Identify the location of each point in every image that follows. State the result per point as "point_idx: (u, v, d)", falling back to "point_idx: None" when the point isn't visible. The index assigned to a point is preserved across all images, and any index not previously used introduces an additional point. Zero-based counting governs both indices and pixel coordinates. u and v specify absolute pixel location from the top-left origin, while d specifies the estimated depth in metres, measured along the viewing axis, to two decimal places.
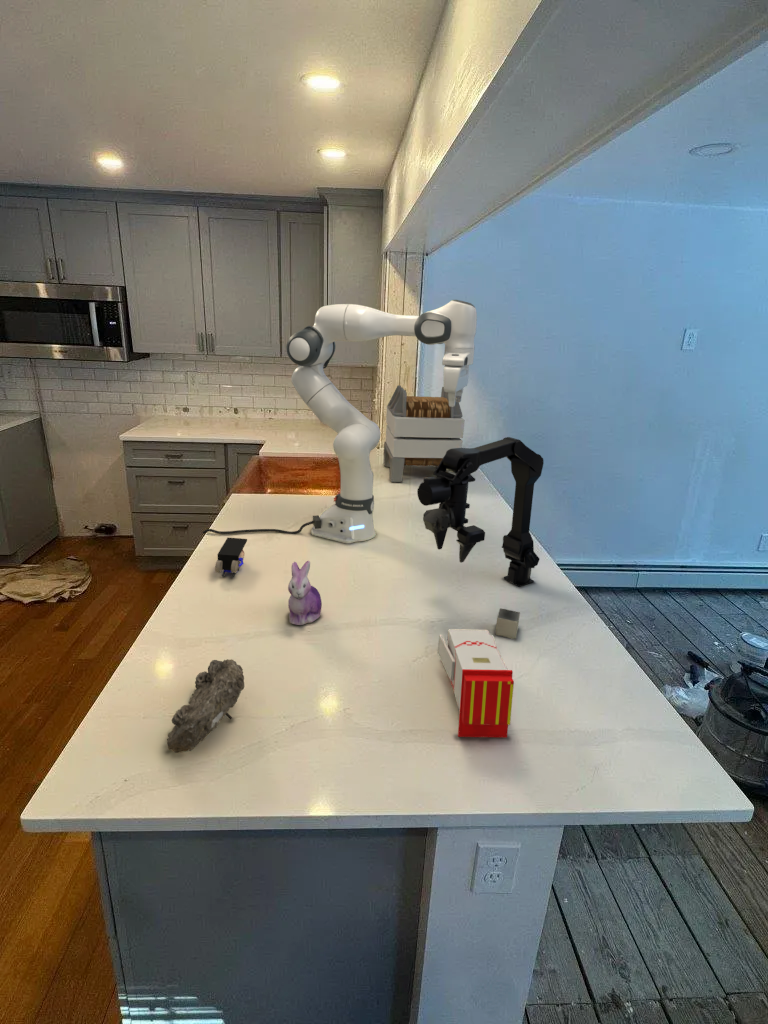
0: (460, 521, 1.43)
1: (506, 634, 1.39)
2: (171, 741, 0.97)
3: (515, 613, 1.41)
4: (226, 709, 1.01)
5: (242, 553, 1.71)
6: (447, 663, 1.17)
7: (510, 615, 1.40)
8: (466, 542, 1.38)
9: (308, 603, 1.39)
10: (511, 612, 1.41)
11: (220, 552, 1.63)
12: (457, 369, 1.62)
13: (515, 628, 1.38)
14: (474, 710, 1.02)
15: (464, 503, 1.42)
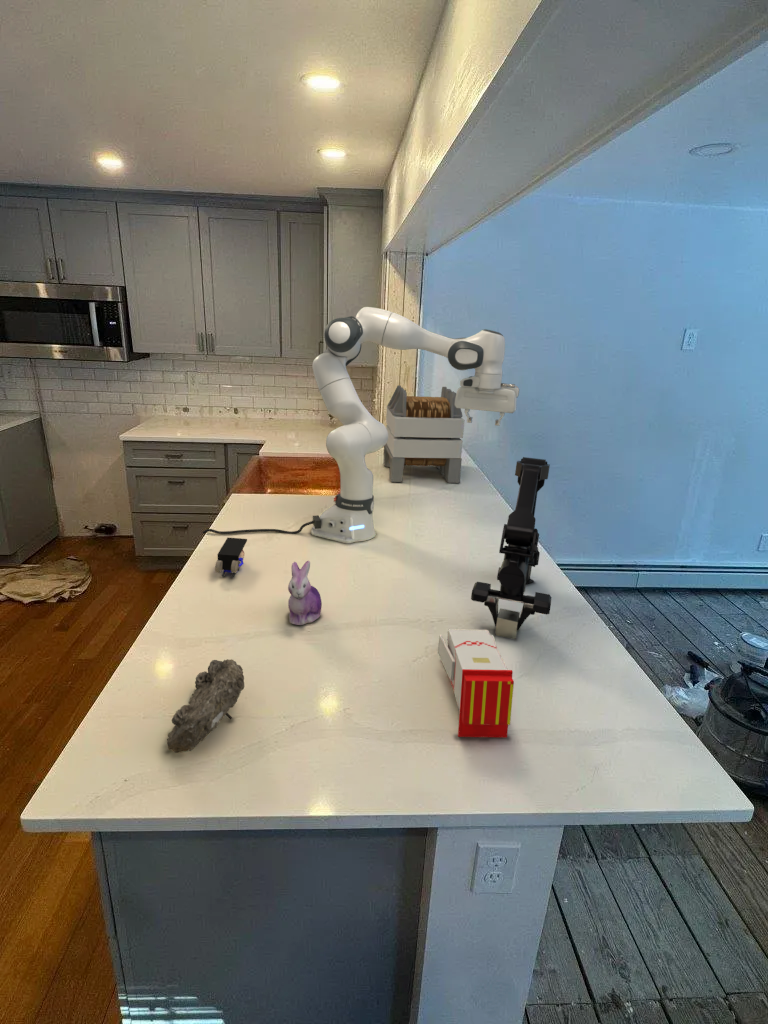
0: (500, 587, 1.38)
1: (506, 634, 1.39)
2: (171, 741, 0.97)
3: (515, 613, 1.41)
4: (226, 709, 1.01)
5: (242, 553, 1.71)
6: (447, 663, 1.17)
7: (510, 615, 1.40)
8: None
9: (308, 603, 1.39)
10: (511, 612, 1.41)
11: (220, 552, 1.63)
12: None
13: (515, 628, 1.38)
14: (474, 710, 1.02)
15: None
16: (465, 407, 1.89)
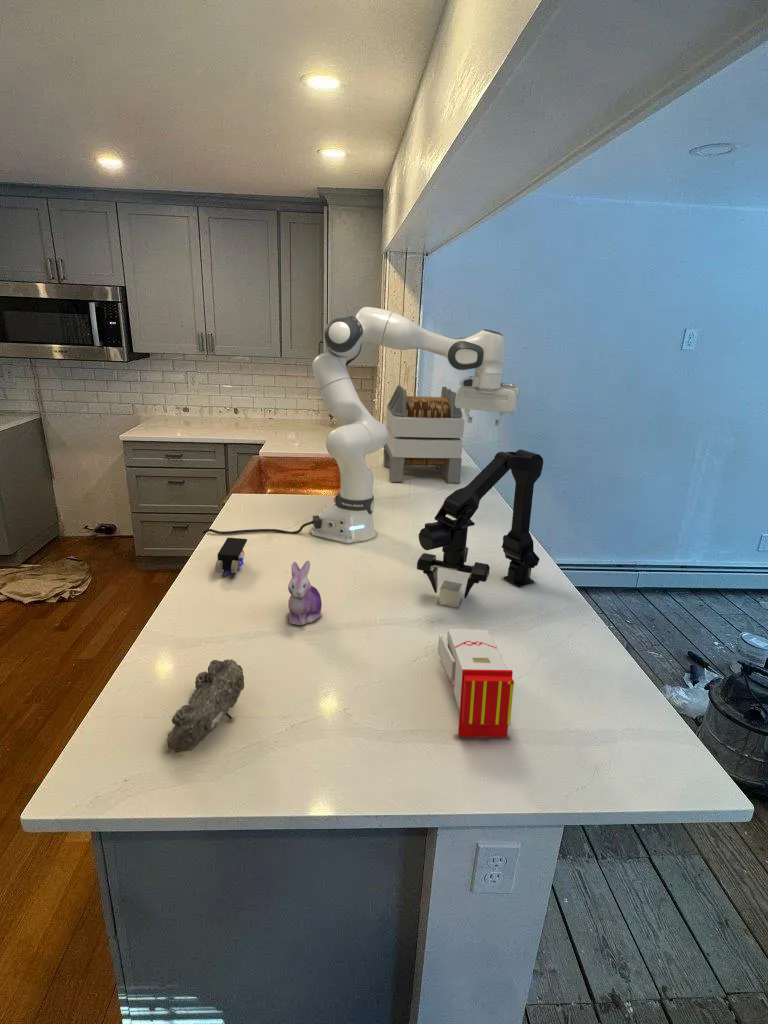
0: None
1: (448, 603, 1.52)
2: (171, 741, 0.97)
3: (457, 584, 1.54)
4: (226, 709, 1.01)
5: (242, 553, 1.71)
6: (447, 663, 1.17)
7: (453, 586, 1.53)
8: None
9: (308, 603, 1.39)
10: (454, 583, 1.55)
11: (220, 552, 1.63)
12: None
13: (456, 597, 1.51)
14: (474, 710, 1.02)
15: None
16: (465, 407, 1.89)
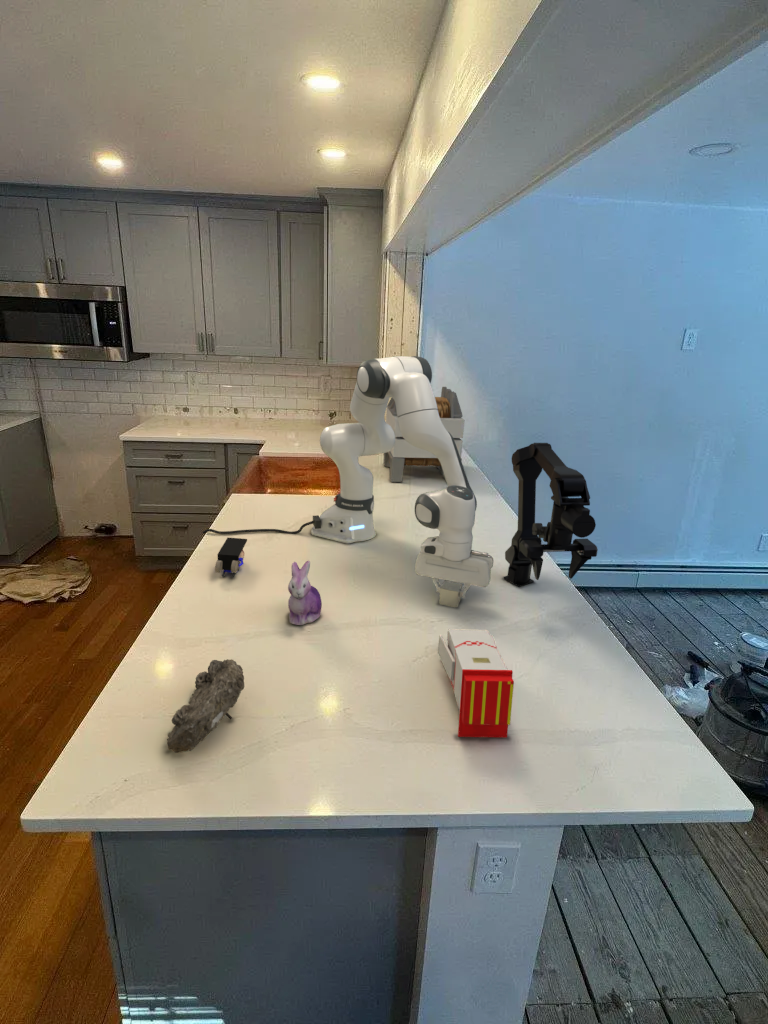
0: (548, 540, 1.42)
1: (448, 603, 1.52)
2: (171, 741, 0.97)
3: (457, 584, 1.54)
4: (226, 709, 1.01)
5: (242, 553, 1.71)
6: (447, 663, 1.17)
7: (453, 586, 1.53)
8: None
9: (308, 603, 1.39)
10: (454, 583, 1.55)
11: (220, 552, 1.63)
12: None
13: (456, 597, 1.51)
14: (474, 710, 1.02)
15: (553, 525, 1.40)
16: (428, 575, 1.53)
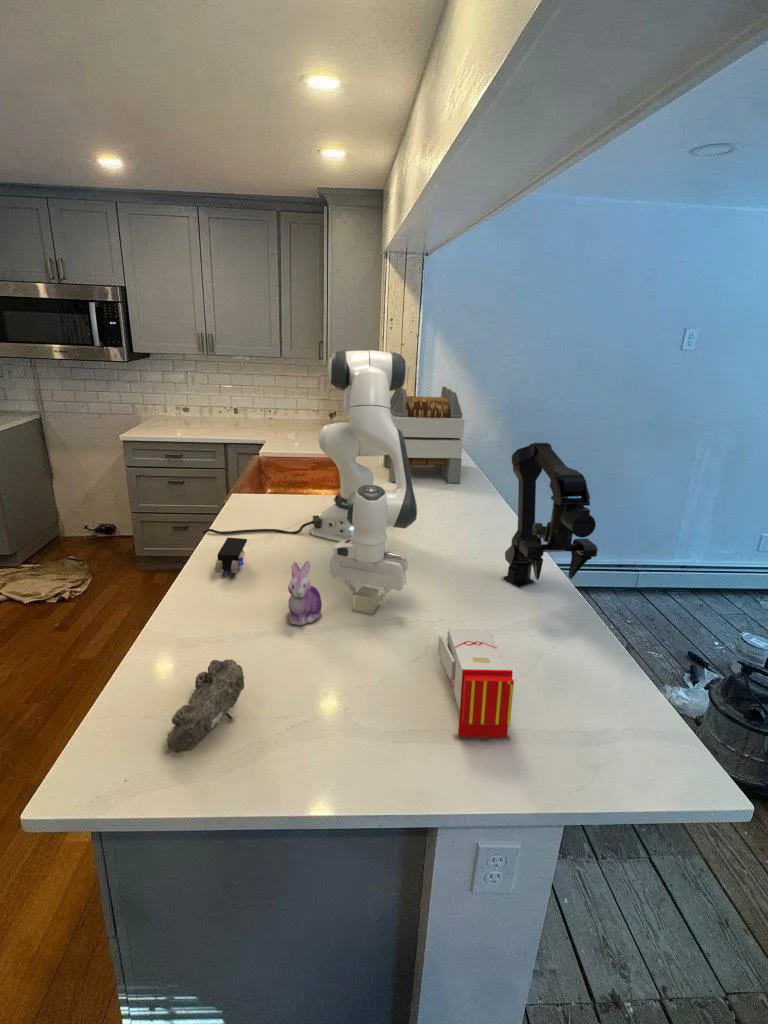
0: (548, 540, 1.42)
1: (364, 609, 1.47)
2: (171, 741, 0.97)
3: (374, 590, 1.49)
4: (226, 709, 1.01)
5: (242, 553, 1.71)
6: (447, 663, 1.17)
7: (368, 591, 1.48)
8: None
9: (308, 603, 1.39)
10: (371, 589, 1.50)
11: (220, 552, 1.63)
12: (333, 555, 1.46)
13: (371, 604, 1.46)
14: (474, 710, 1.02)
15: (553, 525, 1.40)
16: (343, 578, 1.47)
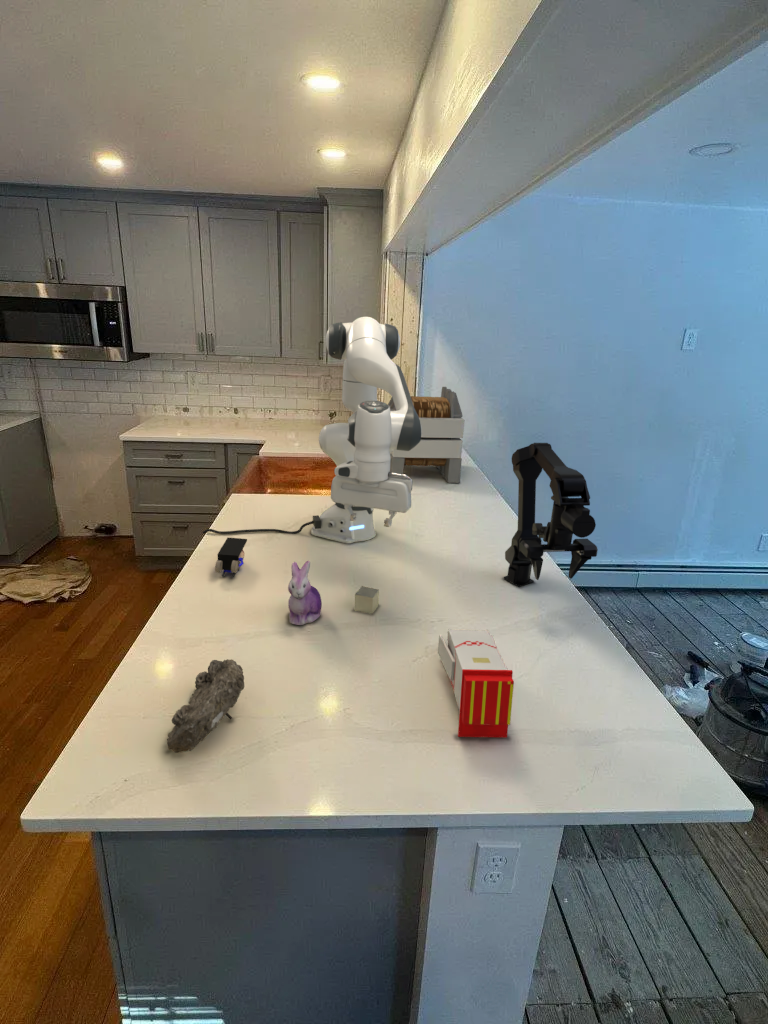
0: (548, 540, 1.42)
1: (364, 609, 1.47)
2: (171, 741, 0.97)
3: (374, 590, 1.49)
4: (226, 709, 1.01)
5: (242, 553, 1.71)
6: (447, 663, 1.17)
7: (368, 591, 1.48)
8: None
9: (308, 603, 1.39)
10: (371, 589, 1.50)
11: (220, 552, 1.63)
12: (334, 477, 1.39)
13: (371, 604, 1.46)
14: (474, 710, 1.02)
15: (553, 525, 1.40)
16: (344, 502, 1.40)
